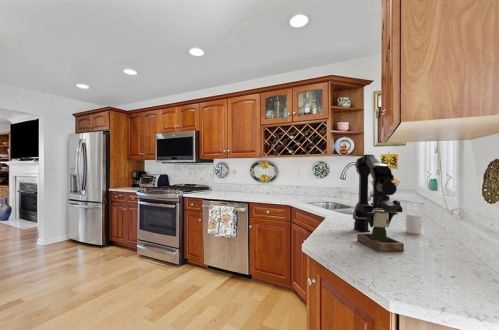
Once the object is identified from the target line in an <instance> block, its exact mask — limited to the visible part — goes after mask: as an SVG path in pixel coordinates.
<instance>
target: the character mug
mask: <svg viewBox="0 0 499 330" xmlns="http://www.w3.org/2000/svg"><path fill="white" fill-rule="evenodd" d="M373 213H375V215H374V216H373V228H372V230H371V231H372V232H371V233H372V237H371V238H372V239H374V240H379V242H380V241H387V237H388V236H387V234H388V233H387V230H386V228H389V226H388V223H389V213H388V212H384V210H373Z"/></svg>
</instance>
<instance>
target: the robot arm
mask: <svg viewBox="0 0 499 330" xmlns="http://www.w3.org/2000/svg"><path fill="white" fill-rule="evenodd" d="M354 165H355V171H356V172H357V174H358V179H359V180H358V202H357V203H356V204H355V208H354V210H353V213H352V219H353V220H354V222H353V223H354V224H353V230H355V231H357V232H358V233H370V232H371V230H369V227H370V228H372V229H373V227H374V226H373V216H374V215H375V213H373V211H384V212H388V213H389V223H388V227H389V226H390V224H391V222H392V220H393V218H394V216H396V215H398V214H399V213H403V207H402V206H401V201H400V200H397V199H396V200H395V199H394V200H391V199H390V196H393V195H394V194H395V193H396V192H397V189H398V188H397V186H396V184H395V183H394V182H393V181H394V178H395V176H394V174H393V172H392V170H391V167H390V165H388V164H384V163H381V162H380V161H379V160H378V159H377V158H376V156H375V155H374V154H366V153H365V154H363V155H362V156H361V157H358V158H357V159H356V161H355V164H354ZM369 176H371V178H372V183H373V184H372V193H371V194H370V197H372V202H371V203H369Z"/></svg>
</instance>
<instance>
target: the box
mask: <svg viewBox="0 0 499 330" xmlns="http://www.w3.org/2000/svg"><path fill="white" fill-rule="evenodd" d="M371 237H372V232H371V233H370V232H369V233H356V240H357V242H358V243H361V244H362V245H364V246H366V247H368V248H370V249H372V250H373V251H376V252H378V253H397V252H398V253H400V252H401V253H402V252H404V251H405V247H404V246H405V244H404V242H402V241H399V240H397V239H395V238H393V237H389V236H387V241H380V242H379V240H374V239H372V238H371Z"/></svg>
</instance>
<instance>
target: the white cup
mask: <svg viewBox="0 0 499 330" xmlns="http://www.w3.org/2000/svg"><path fill="white" fill-rule="evenodd" d="M404 215H405V232H406V233H408V234H412V235H420V234H421V232H422V227H423V226H422V225H423V214H419V213H412V212H406V213H405V214H404Z"/></svg>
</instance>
